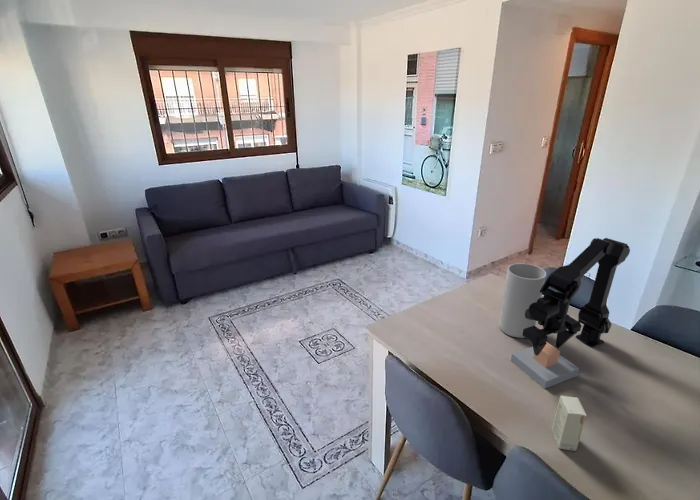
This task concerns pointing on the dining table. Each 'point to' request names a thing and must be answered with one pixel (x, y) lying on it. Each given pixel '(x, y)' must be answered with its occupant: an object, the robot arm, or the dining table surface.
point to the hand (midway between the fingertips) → (546, 351)
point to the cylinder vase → (520, 297)
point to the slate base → (542, 374)
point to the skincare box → (568, 423)
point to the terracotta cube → (547, 356)
